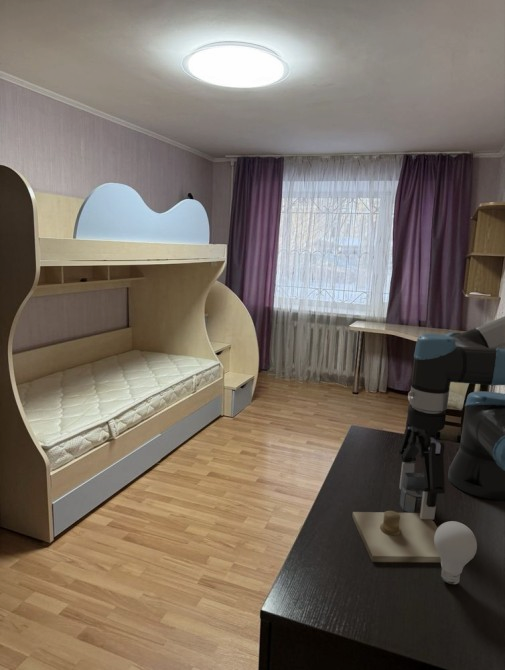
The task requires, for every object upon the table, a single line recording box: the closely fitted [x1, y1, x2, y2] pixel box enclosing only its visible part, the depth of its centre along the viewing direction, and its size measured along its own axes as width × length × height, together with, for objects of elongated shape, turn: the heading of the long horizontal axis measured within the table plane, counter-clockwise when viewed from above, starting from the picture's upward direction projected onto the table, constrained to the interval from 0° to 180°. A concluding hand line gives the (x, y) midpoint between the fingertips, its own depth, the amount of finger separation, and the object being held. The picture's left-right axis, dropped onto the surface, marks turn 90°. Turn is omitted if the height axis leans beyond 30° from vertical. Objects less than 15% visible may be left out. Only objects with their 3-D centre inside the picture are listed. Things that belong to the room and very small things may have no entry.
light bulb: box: [434, 520, 478, 585], centre depth 80 cm, size 7×7×11 cm
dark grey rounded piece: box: [399, 472, 426, 513], centre depth 103 cm, size 6×6×8 cm
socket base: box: [351, 510, 441, 563], centre depth 92 cm, size 16×14×4 cm
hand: (415, 502), depth 103 cm, fingers open, 11 cm apart
